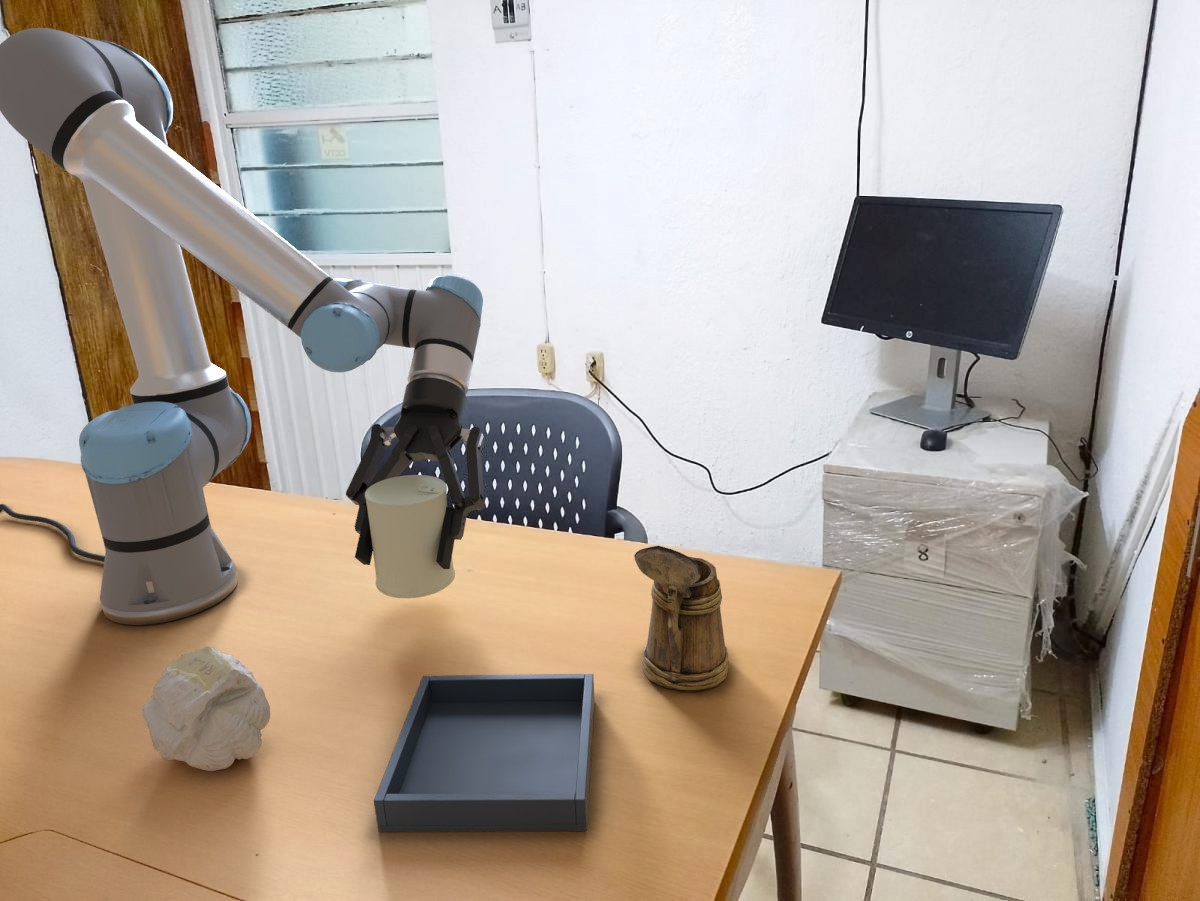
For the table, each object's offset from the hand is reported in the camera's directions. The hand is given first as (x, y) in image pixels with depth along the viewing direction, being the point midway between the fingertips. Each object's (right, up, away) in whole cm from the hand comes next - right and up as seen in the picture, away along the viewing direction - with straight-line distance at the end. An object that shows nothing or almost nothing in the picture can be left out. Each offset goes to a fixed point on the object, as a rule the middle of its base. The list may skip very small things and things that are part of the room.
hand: (402, 563), depth 94 cm
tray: (+13, -15, -20) cm, 28 cm away
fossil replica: (-13, -15, -17) cm, 26 cm away
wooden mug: (+30, -10, -10) cm, 34 cm away
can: (+1, -3, +4) cm, 5 cm away
